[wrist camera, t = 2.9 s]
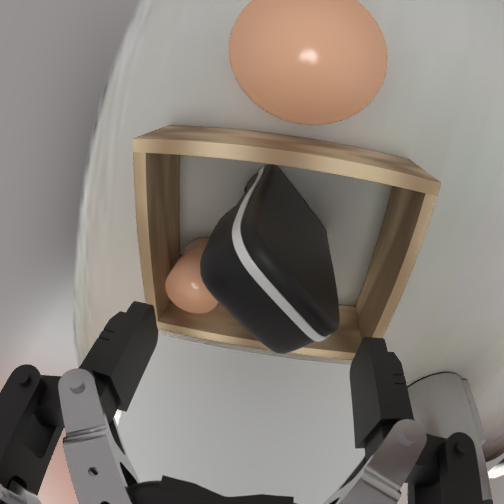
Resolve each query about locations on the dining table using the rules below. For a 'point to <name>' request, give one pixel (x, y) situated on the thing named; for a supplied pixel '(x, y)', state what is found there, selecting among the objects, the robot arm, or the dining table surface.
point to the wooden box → (293, 155)
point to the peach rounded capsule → (190, 281)
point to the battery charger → (273, 266)
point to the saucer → (308, 58)
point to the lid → (241, 422)
